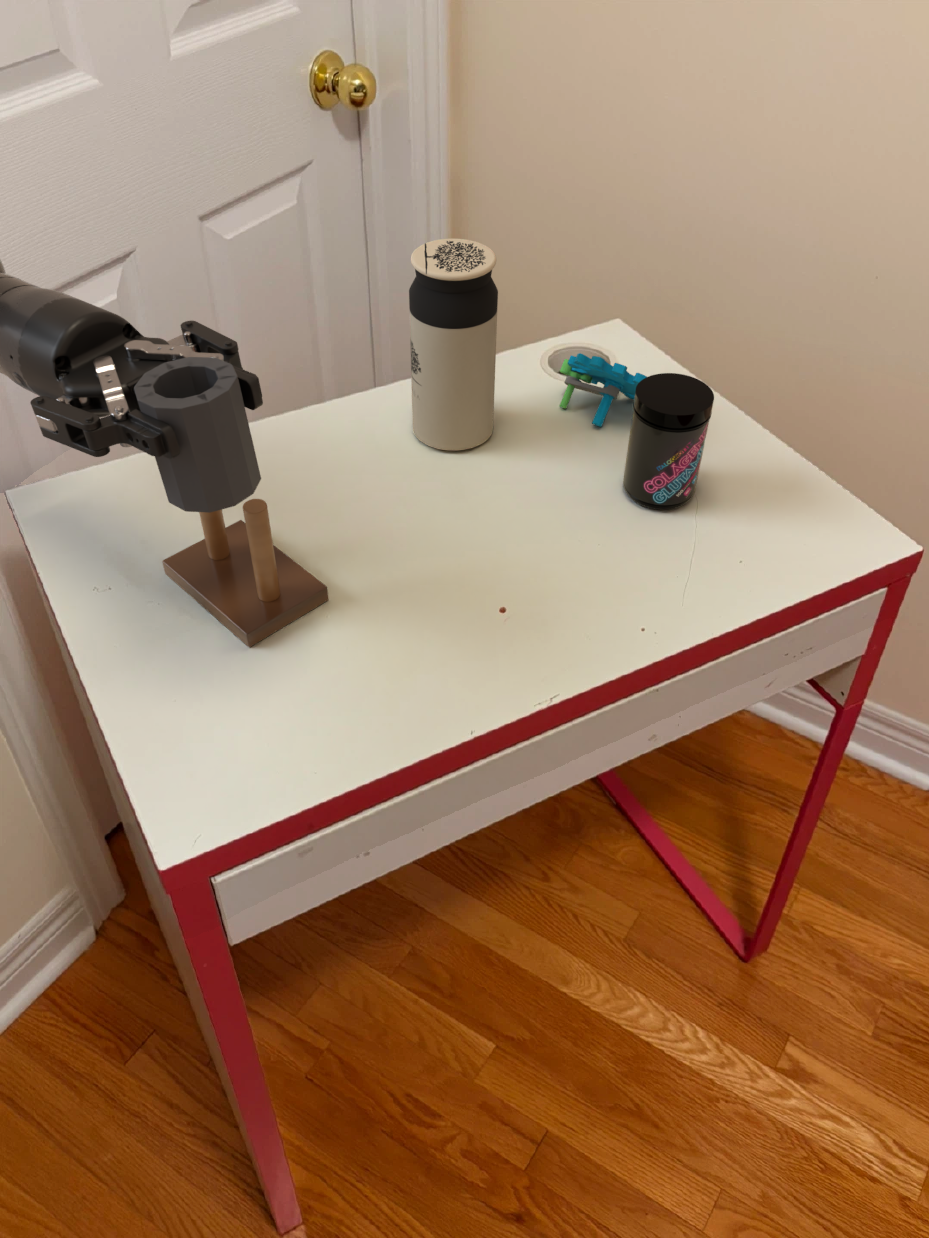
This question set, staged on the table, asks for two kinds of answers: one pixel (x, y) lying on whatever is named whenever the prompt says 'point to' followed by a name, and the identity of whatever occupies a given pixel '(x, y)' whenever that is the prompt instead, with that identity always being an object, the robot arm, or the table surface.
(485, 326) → the travel mug
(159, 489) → the table surface
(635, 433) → the supplement container
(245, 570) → the rack
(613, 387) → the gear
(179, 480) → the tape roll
